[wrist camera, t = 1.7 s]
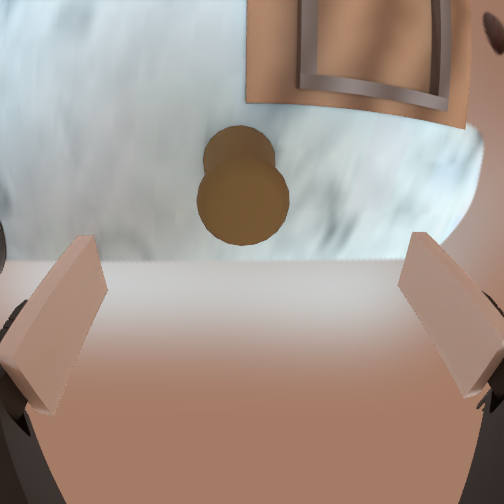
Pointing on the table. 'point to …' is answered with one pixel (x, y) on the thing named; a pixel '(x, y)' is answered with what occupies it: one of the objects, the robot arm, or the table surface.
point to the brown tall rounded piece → (241, 187)
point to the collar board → (362, 56)
